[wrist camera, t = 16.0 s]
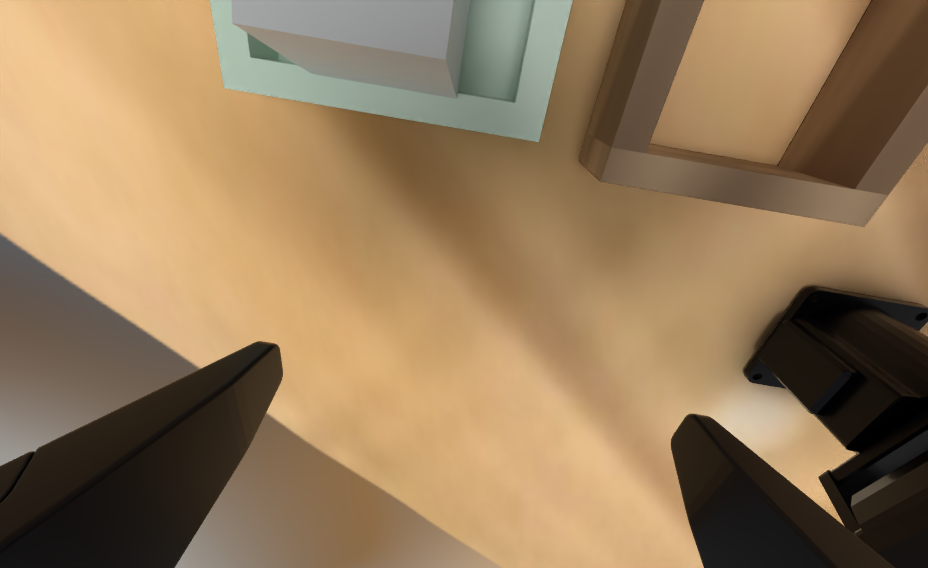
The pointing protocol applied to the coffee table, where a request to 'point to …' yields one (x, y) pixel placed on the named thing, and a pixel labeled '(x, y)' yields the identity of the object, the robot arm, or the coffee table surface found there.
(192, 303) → the coffee table surface
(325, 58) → the grey stepped block
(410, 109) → the tray
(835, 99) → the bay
